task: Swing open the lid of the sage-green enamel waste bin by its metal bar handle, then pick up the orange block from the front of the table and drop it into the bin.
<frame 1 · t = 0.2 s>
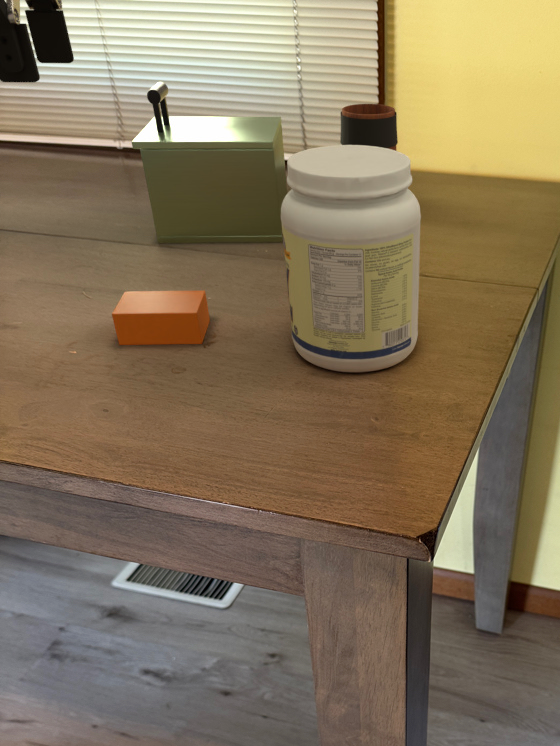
hand: (39, 71, 66), 22 cm above the table, tool pointing down, fingers open, 9 cm apart
mug: (367, 197, 112), on the table
orange block: (166, 332, 76), on the table
supplement tub: (355, 349, 74), on the table
bin: (227, 225, 101), on the table
bin lid: (208, 111, 92), point 14 cm above the table, hinge at 0.0°
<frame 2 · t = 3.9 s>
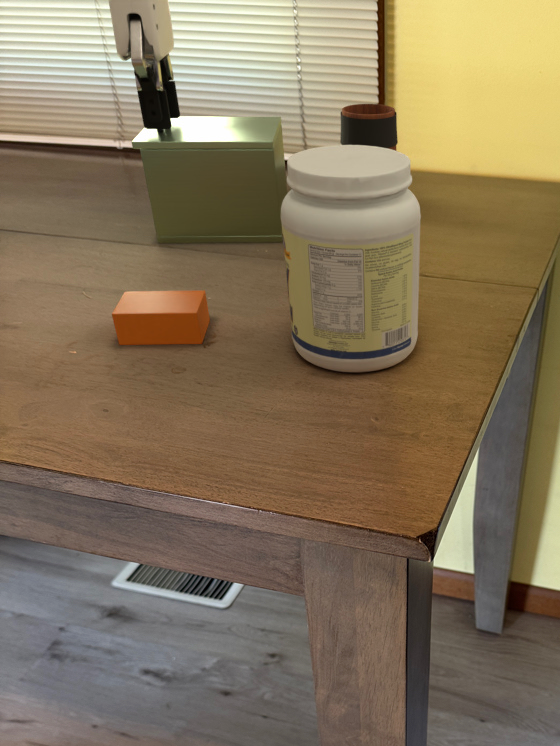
hand: (162, 121, 93), 12 cm above the table, tool pointing down, fingers closed on bin lid, 5 cm apart
bin lid: (208, 111, 92), point 14 cm above the table, hinge at 0.0°, touching gripper
everything else where it was.
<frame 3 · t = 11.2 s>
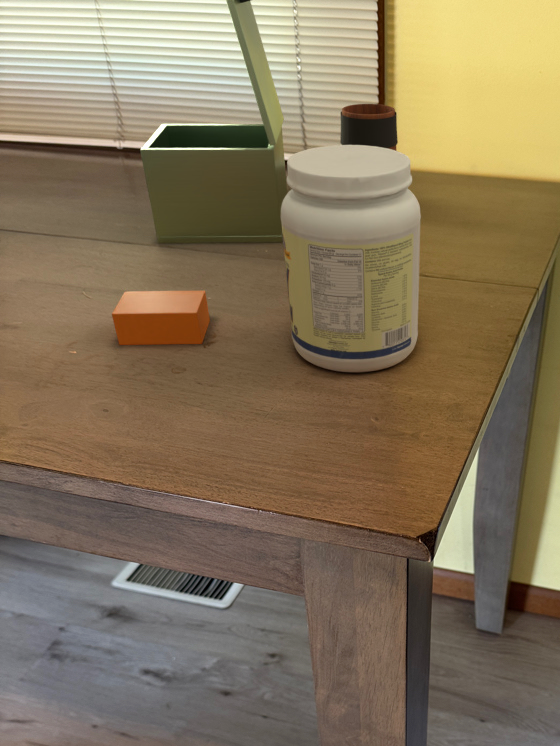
bin lid: (274, 51, 89), point 20 cm above the table, hinge at 77.1°, touching gripper
everything else where it was.
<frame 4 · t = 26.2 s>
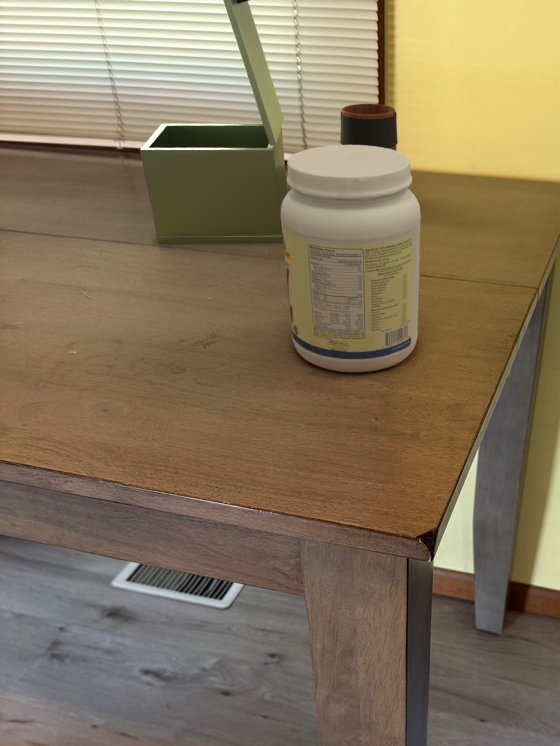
orange block: (211, 219, 100), point 1 cm above the table, touching bin
bin lid: (272, 51, 89), point 20 cm above the table, hinge at 76.0°
everything else where it was.
at the end: bin lid at +76° (first picture: +0°); orange block inside the target area in the bin (2.0 cm from its centre), point 0.8 cm above the bin's base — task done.
